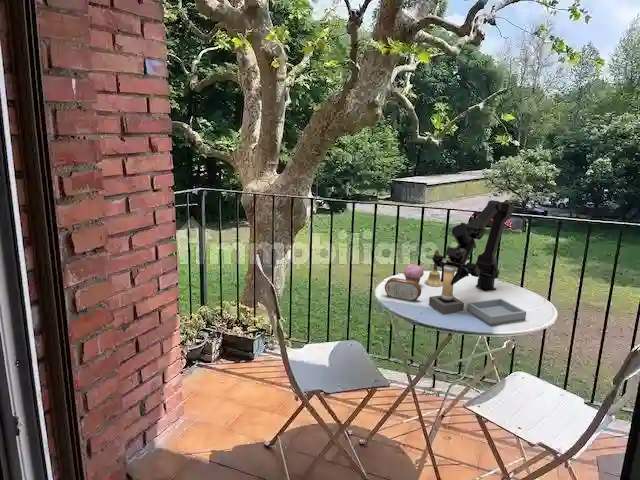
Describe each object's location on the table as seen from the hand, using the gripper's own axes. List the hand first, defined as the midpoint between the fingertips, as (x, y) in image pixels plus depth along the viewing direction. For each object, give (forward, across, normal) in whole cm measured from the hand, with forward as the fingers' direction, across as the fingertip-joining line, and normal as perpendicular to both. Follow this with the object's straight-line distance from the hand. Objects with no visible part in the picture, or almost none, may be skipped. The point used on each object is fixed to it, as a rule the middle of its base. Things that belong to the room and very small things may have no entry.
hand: (446, 283), depth 181 cm
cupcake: (-1, -24, +17) cm, 29 cm away
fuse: (+4, 0, +6) cm, 7 cm away
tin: (+10, -18, +5) cm, 21 cm away
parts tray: (+1, +17, +14) cm, 22 cm away
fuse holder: (+7, 0, +9) cm, 11 cm away
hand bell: (-8, -19, +24) cm, 31 cm away
